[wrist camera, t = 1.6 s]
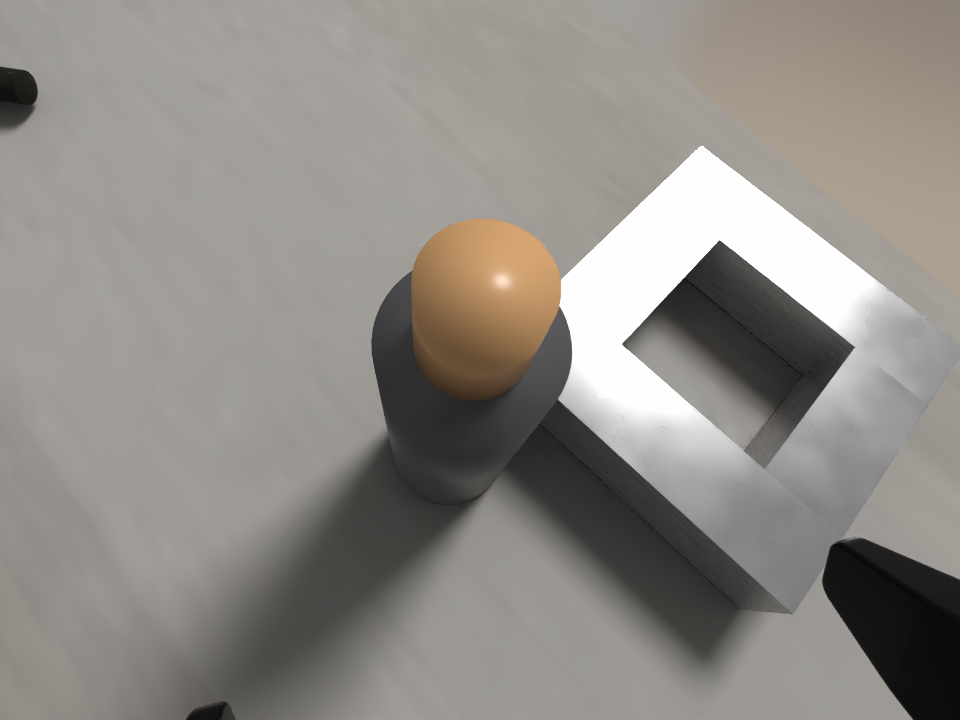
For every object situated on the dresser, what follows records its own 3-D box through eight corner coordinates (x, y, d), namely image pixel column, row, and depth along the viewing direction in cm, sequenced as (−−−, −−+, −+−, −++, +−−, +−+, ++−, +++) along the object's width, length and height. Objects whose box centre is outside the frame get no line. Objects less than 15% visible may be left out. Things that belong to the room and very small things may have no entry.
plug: (527, 446, 21) (658, 287, 10) (449, 529, 20) (493, 461, 8) (448, 372, 22) (482, 139, 10) (368, 447, 21) (305, 279, 9)
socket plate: (900, 375, 24) (965, 348, 21) (740, 609, 20) (792, 614, 17) (670, 192, 26) (701, 145, 23) (485, 372, 22) (495, 342, 19)
